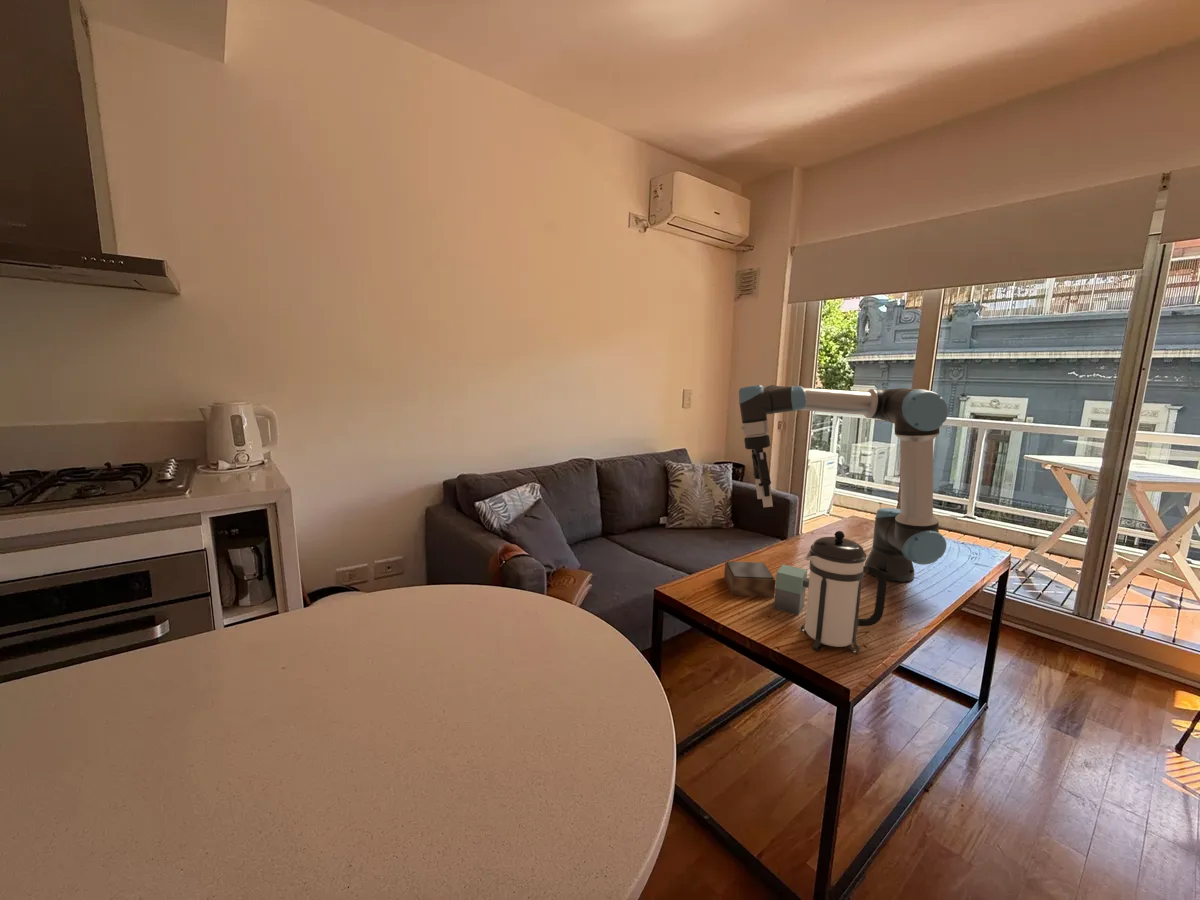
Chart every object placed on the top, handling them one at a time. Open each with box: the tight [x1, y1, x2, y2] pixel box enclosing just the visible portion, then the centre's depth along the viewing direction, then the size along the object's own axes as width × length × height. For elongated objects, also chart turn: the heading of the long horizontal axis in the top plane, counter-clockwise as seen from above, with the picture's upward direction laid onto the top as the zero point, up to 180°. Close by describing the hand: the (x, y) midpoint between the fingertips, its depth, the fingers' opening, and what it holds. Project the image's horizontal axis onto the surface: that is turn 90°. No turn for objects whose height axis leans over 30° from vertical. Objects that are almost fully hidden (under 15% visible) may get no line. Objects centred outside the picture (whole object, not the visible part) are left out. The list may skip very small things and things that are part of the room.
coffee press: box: [800, 530, 887, 654], centre depth 129 cm, size 17×16×30 cm
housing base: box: [773, 587, 807, 616], centre depth 149 cm, size 7×7×6 cm
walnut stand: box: [723, 560, 776, 598], centre depth 162 cm, size 13×13×6 cm
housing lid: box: [775, 564, 809, 594], centre depth 147 cm, size 7×9×5 cm
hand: (764, 502), depth 157 cm, fingers open, 13 cm apart
